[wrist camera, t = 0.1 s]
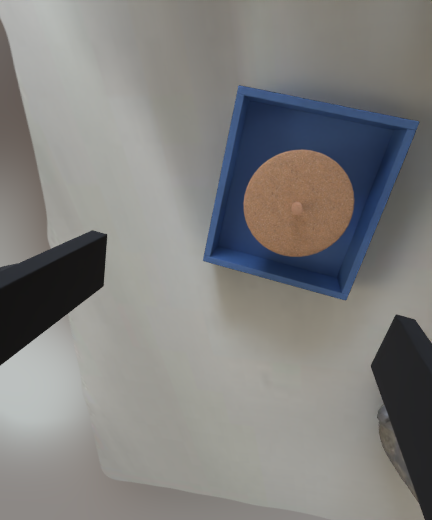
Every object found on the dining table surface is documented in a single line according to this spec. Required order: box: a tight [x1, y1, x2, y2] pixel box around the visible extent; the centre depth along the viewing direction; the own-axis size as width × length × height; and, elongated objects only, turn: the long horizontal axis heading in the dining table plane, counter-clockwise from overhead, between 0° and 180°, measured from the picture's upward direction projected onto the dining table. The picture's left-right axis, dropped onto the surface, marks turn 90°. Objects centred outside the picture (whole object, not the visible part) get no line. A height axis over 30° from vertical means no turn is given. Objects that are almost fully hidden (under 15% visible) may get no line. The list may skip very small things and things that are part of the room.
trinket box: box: [244, 149, 354, 257], centre depth 35 cm, size 11×11×9 cm
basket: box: [203, 85, 419, 300], centre depth 37 cm, size 20×18×5 cm
